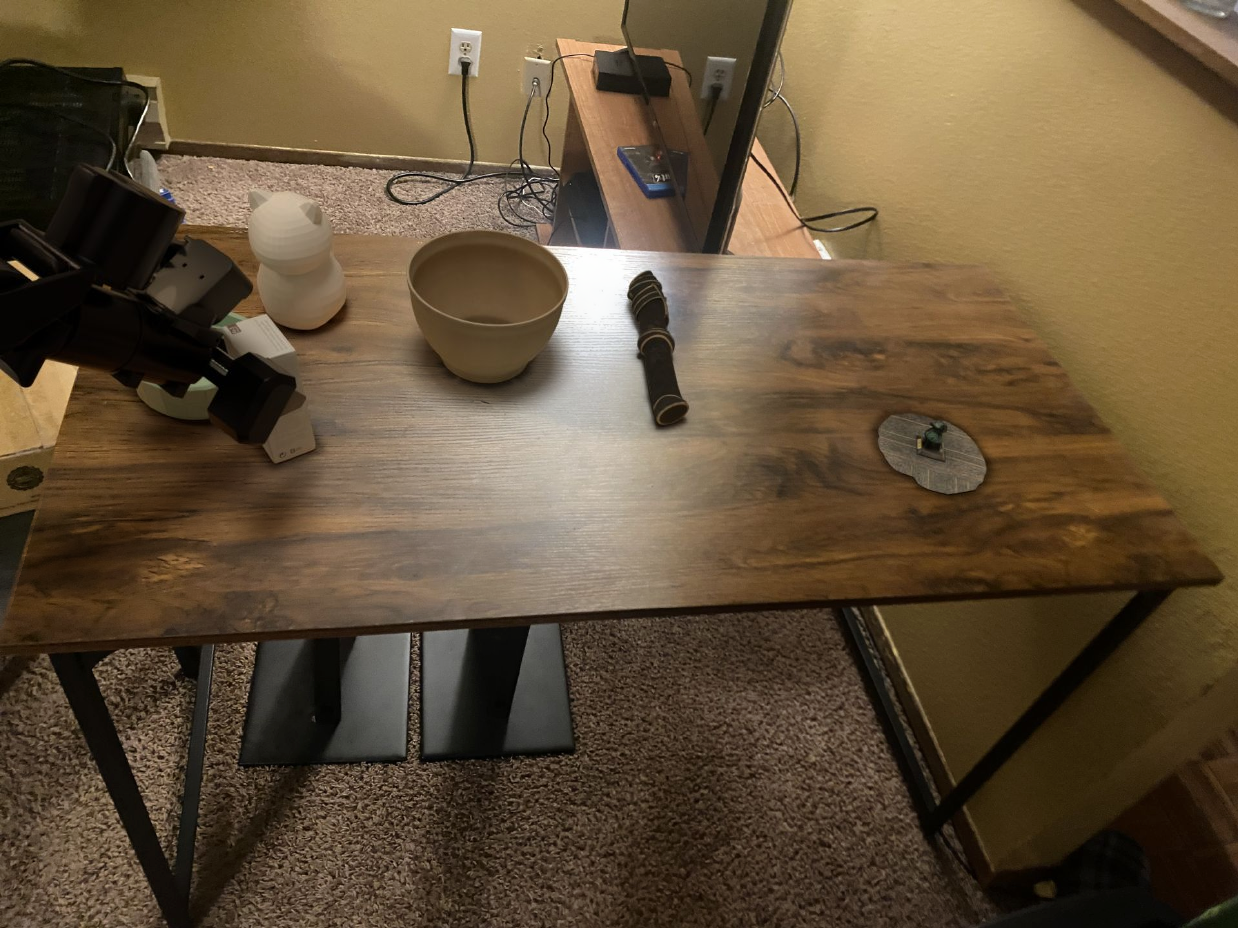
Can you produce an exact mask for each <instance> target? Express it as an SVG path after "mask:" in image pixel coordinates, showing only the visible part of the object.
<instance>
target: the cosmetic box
mask: <svg viewBox="0 0 1238 928" xmlns="http://www.w3.org/2000/svg"><path fill="white" fill-rule="evenodd" d="M221 330H222V333H223V334H224V335H223V338H224V341H225V345H226V348H227V352H228V355H229V356H230V357H232V358H233V359H236V358H238V357H240V356H242V355H244V354H246V353H247V352H252V353H255V354H259V355H261V356H263V357H265V358H267V357H268V358H269V359H270V360H272V361H273V362H275V363H276V364H277V365H279V366H280V367H282V368H283V369H285V370H286V371H287V372H288V373H290V374H291V375H293V376H294V377H295V378H296V385H297V388H296V391H298V392H300V393H302V394H303V395H305V396H306V392H305V388H304V384H303V379H302V373H301V369H300V365H299V359H298V355H297V350H296V348H295V347H293V345H292V344H291V342H290V341H289V340H288V339H287V337H285V335H284V334H283V332H282V331H281V330H280V329H279V328H278V326H277V325H276V323H274V321H273V319H272V318H271V317H270V316H269V314H268V313H265V314H260V315H257V316H254V317H250V318H248V319H247V320H244V321H241V322H238V323H234V324H231V325H228V326H225V327H222V328H221ZM316 446H317V445H316V439H315V434H314V430H313V425H312V421H311V416H310V412H309V407H308V402H307V399H306V400H305V402H304V404H303V405H302V407H301V408H299V409H297V410H294V411H292V412H290V413H288V414H286V415H284V416H281V417H280V418H279V420H278V422H277V423H276V425H275V427H274V429H273V431H272V432H271V434H270V436H269V438H268V439H267V441H266V443H265V444H263V445H262V447H263V448H264V450H265V452H266V453H267V455H268V456H269V458H270V459H271V461H272V462H273V463H274V464H279V463H281V462H282V463H283V462H285V461H287V460H290V459H293V458H296V457H298V456H301V455H304V454H306V453H308V452H311V451H313V450H316Z"/></svg>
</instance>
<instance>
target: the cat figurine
mask: <svg viewBox="0 0 1238 928" xmlns="http://www.w3.org/2000/svg"><path fill="white" fill-rule="evenodd" d="M247 200H248V203H249V207H250V208H251V213H250V215H249V220H248V227H247V229H248V230H247V234H248V242H249V246H250V250H251V252H252V253H253V255H254V257H255V258H256V260H257V261H258V262H260V263H259V267H258V271H257V275H256V284H257V290H258V294H259V298H260V301H261V303H262V305H263V307H264V309H265V312H266V314H267V315H268V316H269V318H270V319H271V320H272V321H273V322H276V323H277V324H279V325H281V326H284V327H287V328H290V329H293V330H302V331H303V330H304V331H305V330H306V331H307V330H308V331H309V330H310V331H311V330H314V329H315V330H316V329H317V328H319V327H321V326H323V325H325V324H326V323H328V321H330V320H331V319H332V318H333V317H334V316H335V315H336V314H337V313H339V311H340V310H341V309H342V307H343V306H344V305H345V302H346V300H347V299H346V298H347V293H348V292H347V282H346V281H347V280H346V277H345V273H344V270H343V268H342V266H341V264H340V262H339V261H338V260H337V259H336V257H335V241H334V237H335V236H334V231H333V227H332V223H331V220H330V219H329V217H328V216H327V215H326V213H324V211H323V210H322V208H321V206H320V205H319V203H318V202H317V201H316V200H314V199H312V198H309V197H307V196H306V195H303V194H300V193H298V192H295V191H278V192H277V191H276V192H274V193H271V192H270V191H268V190H265V189H262V188H257V187H256V188H253V187H252V188H249V189H248V191H247Z"/></svg>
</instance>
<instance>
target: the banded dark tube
mask: <svg viewBox="0 0 1238 928" xmlns="http://www.w3.org/2000/svg"><path fill="white" fill-rule="evenodd" d="M626 296H627V299H628V300H629V301H630V302H631V303H630V304H631V305H630V306H631V310H632V311H633V314H634V316H635V321H636V322H637V323H638V326H639V331H640V332H639V333H640V335H639V337H638V339H637V342H636V346H637V349H638V351H639V352H640V353H641V354H642V355H643V358H644V366H645V372H646V378H647V384H648V390H649V394H650V399H651V403H652V406H653V408H652V409H653V413H654V416H655V418H656V422H657V423H658V424H659V425H663V426H666V425H667V426H668V425H672V424H674V423H676V422H678V421H680V420H681V419H682V418H684V417H685V416H686V415H687V414H688V413H689V410H690V405H689V403H688V402H687V400H685V399H684V397H683V396H682V393H681V390H680V387H679V383H678V379H677V374H676V370H675V364H674V361H673V354H674V352H675V347H676V341H675V339H674V337H673V335H672V334H671V333H670V331H669V330H668V327H669V325H670V314H669V306H668V303H667V301H668V298H667V296H665V294H664V292H663V285H662V283H661V282H660V280H659V279H658V278H657V277H656V275H654V273H653V271H652V270H649V269H648V270H644V271H641V272H640V273H638V274H637V275H636V276H635V277H634V278H633V279H632V280H631V281H630V282H629V285H628V290H627V293H626Z"/></svg>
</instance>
